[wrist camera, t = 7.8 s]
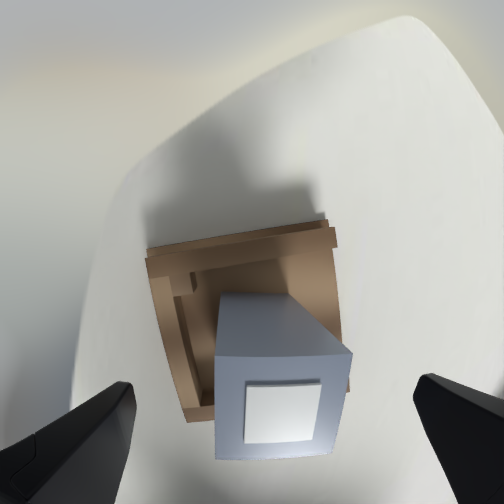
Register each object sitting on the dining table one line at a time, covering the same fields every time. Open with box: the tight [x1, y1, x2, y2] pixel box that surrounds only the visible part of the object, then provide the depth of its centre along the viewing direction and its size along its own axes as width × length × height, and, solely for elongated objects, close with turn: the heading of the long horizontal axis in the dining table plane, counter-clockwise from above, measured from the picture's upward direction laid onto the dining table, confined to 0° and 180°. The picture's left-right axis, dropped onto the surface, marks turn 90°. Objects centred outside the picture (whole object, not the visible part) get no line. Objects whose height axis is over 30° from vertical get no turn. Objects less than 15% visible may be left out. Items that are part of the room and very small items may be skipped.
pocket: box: [145, 219, 350, 423], centre depth 18 cm, size 12×12×3 cm
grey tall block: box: [215, 292, 353, 460], centre depth 14 cm, size 4×4×11 cm
